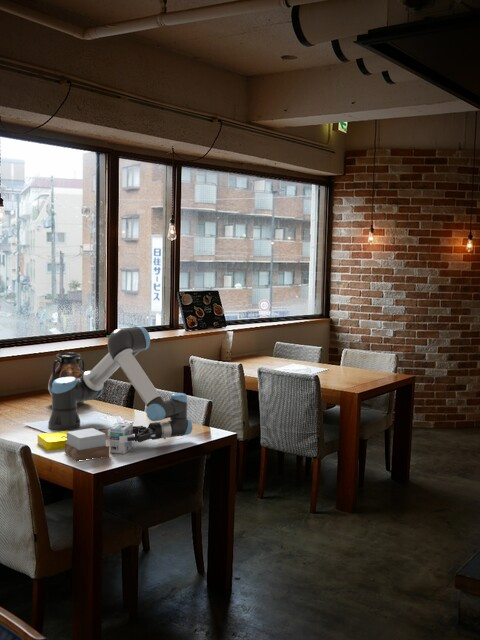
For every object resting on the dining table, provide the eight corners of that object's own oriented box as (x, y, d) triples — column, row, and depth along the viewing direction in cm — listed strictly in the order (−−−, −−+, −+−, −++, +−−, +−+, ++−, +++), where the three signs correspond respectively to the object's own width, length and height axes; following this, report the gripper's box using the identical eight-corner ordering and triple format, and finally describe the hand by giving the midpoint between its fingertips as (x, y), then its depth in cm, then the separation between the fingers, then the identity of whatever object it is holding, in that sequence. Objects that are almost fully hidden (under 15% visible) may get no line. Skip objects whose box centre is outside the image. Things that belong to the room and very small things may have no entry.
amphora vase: (76, 398, 413) (76, 350, 410) (95, 405, 397) (95, 355, 394) (41, 403, 399) (41, 353, 396) (59, 410, 383) (59, 358, 380)
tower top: (66, 443, 305) (66, 432, 305) (92, 439, 313) (92, 427, 312) (79, 450, 296) (79, 438, 295) (105, 445, 303) (105, 433, 303)
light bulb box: (124, 454, 307) (124, 429, 306) (109, 452, 309) (109, 428, 307) (133, 447, 318) (133, 423, 317) (118, 446, 319) (118, 422, 318)
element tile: (68, 439, 330) (68, 429, 329) (80, 447, 317) (80, 436, 317) (36, 443, 322) (36, 433, 321) (46, 452, 309) (46, 441, 309)
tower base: (65, 454, 307) (64, 442, 306) (96, 449, 314) (96, 438, 314) (77, 462, 295) (77, 451, 295) (109, 457, 303) (109, 446, 302)
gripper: (171, 445, 313) (125, 452, 301) (147, 432, 333) (102, 438, 321) (171, 428, 312) (125, 434, 300) (147, 416, 332) (103, 421, 320)
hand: (113, 436), depth 310 cm, fingers closed on light bulb box, 12 cm apart
